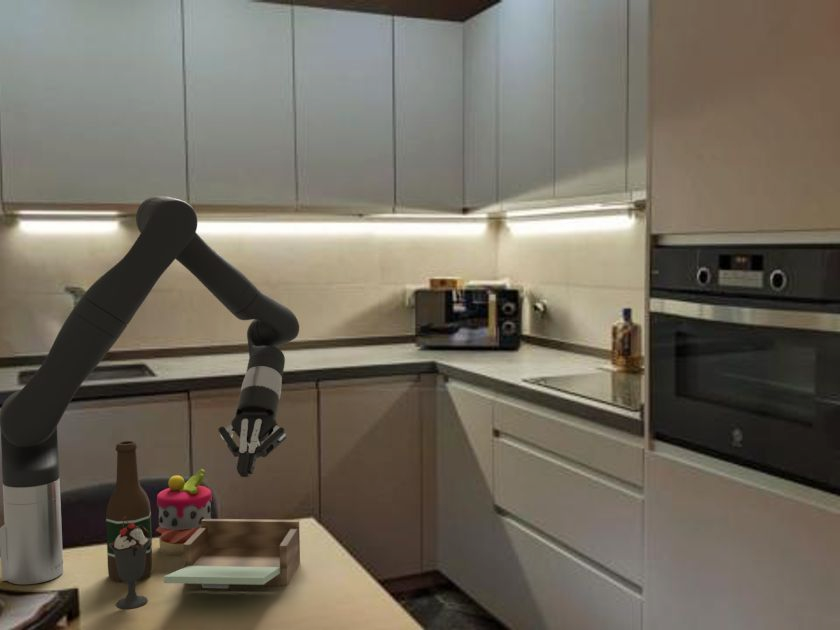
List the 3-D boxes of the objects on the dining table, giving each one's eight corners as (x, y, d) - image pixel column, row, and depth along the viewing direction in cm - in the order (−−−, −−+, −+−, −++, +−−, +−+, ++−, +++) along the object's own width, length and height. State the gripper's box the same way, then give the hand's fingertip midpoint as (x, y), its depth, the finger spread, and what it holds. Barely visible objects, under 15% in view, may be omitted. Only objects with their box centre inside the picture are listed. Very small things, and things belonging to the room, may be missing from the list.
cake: (165, 560, 164) (163, 481, 162) (152, 543, 173) (149, 469, 171) (220, 550, 169) (218, 473, 168) (204, 534, 178) (202, 462, 177)
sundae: (114, 614, 139) (111, 522, 138) (108, 599, 145) (104, 510, 144) (156, 606, 142) (153, 515, 141) (148, 592, 148) (146, 505, 147)
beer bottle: (139, 584, 151) (135, 448, 150) (98, 581, 153) (93, 446, 151) (161, 568, 159) (157, 438, 157) (122, 565, 161) (118, 437, 159)
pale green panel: (188, 576, 151) (163, 588, 139) (189, 565, 151) (164, 576, 139) (280, 577, 150) (263, 589, 138) (280, 566, 150) (263, 577, 138)
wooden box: (184, 583, 152) (183, 538, 151) (204, 560, 163) (203, 518, 162) (287, 585, 151) (286, 540, 150) (300, 562, 162) (299, 519, 161)
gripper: (221, 383, 165) (202, 463, 154) (290, 384, 165) (276, 464, 153) (230, 406, 171) (212, 484, 160) (297, 407, 170) (284, 486, 159)
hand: (244, 474), depth 157 cm, fingers closed
